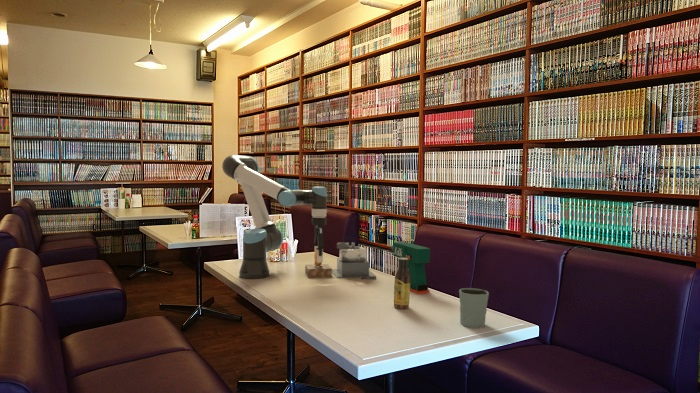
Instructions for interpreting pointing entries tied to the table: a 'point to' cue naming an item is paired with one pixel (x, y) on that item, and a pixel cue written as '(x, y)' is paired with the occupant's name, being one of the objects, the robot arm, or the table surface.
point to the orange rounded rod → (316, 260)
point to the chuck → (351, 252)
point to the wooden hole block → (318, 270)
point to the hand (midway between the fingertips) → (318, 260)
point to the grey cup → (473, 307)
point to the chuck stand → (353, 270)
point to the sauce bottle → (402, 285)
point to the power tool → (414, 264)
